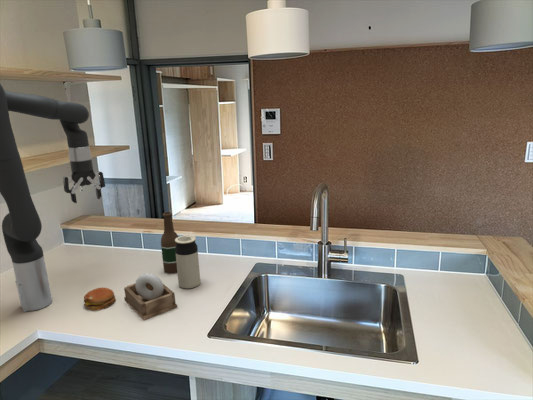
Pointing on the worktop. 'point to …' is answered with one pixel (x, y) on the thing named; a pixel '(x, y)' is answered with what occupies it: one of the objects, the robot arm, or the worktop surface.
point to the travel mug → (187, 261)
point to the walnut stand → (153, 306)
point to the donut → (152, 280)
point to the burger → (99, 298)
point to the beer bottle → (169, 245)
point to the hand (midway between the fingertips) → (87, 200)
